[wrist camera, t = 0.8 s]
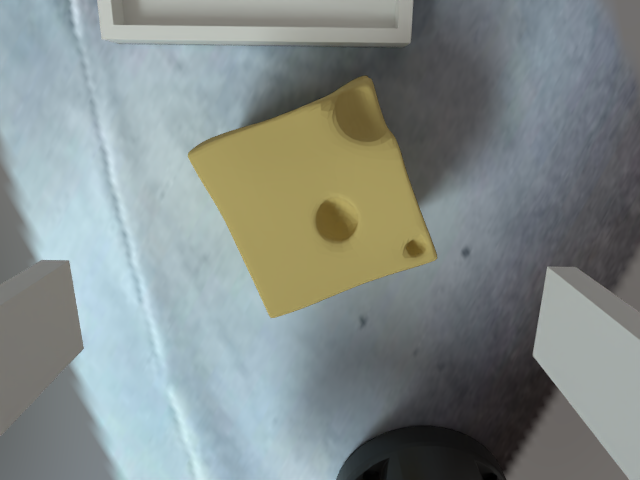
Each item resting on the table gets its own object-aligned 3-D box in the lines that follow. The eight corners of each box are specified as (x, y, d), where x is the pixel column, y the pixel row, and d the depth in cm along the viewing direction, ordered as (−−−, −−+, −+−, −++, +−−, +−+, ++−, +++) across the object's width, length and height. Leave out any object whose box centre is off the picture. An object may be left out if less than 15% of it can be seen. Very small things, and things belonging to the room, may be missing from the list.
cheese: (364, 75, 31) (381, 65, 21) (414, 221, 34) (449, 270, 24) (222, 133, 32) (178, 149, 23) (282, 269, 35) (265, 334, 25)
